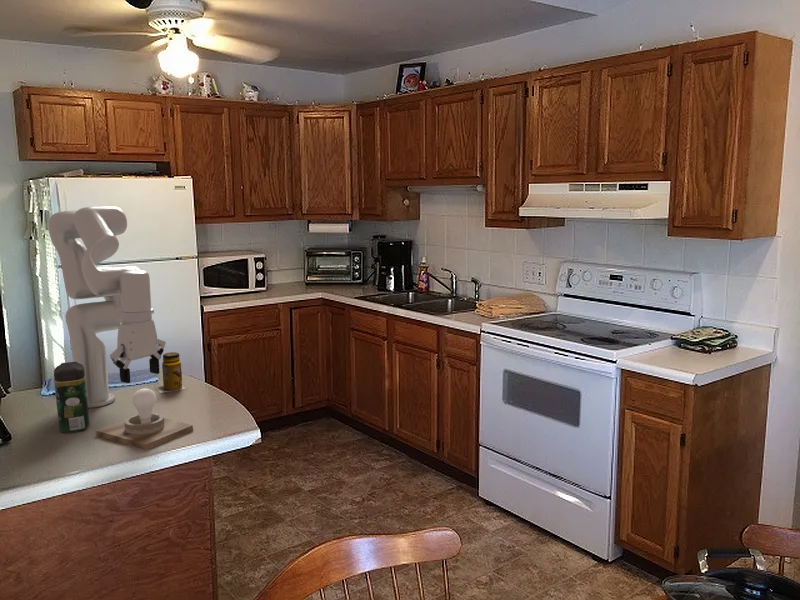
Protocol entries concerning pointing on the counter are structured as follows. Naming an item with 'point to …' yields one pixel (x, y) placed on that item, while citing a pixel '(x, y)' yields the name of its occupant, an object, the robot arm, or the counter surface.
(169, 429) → the socket board
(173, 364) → the condiment
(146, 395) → the lightbulb
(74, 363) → the coffee jar
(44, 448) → the counter surface
